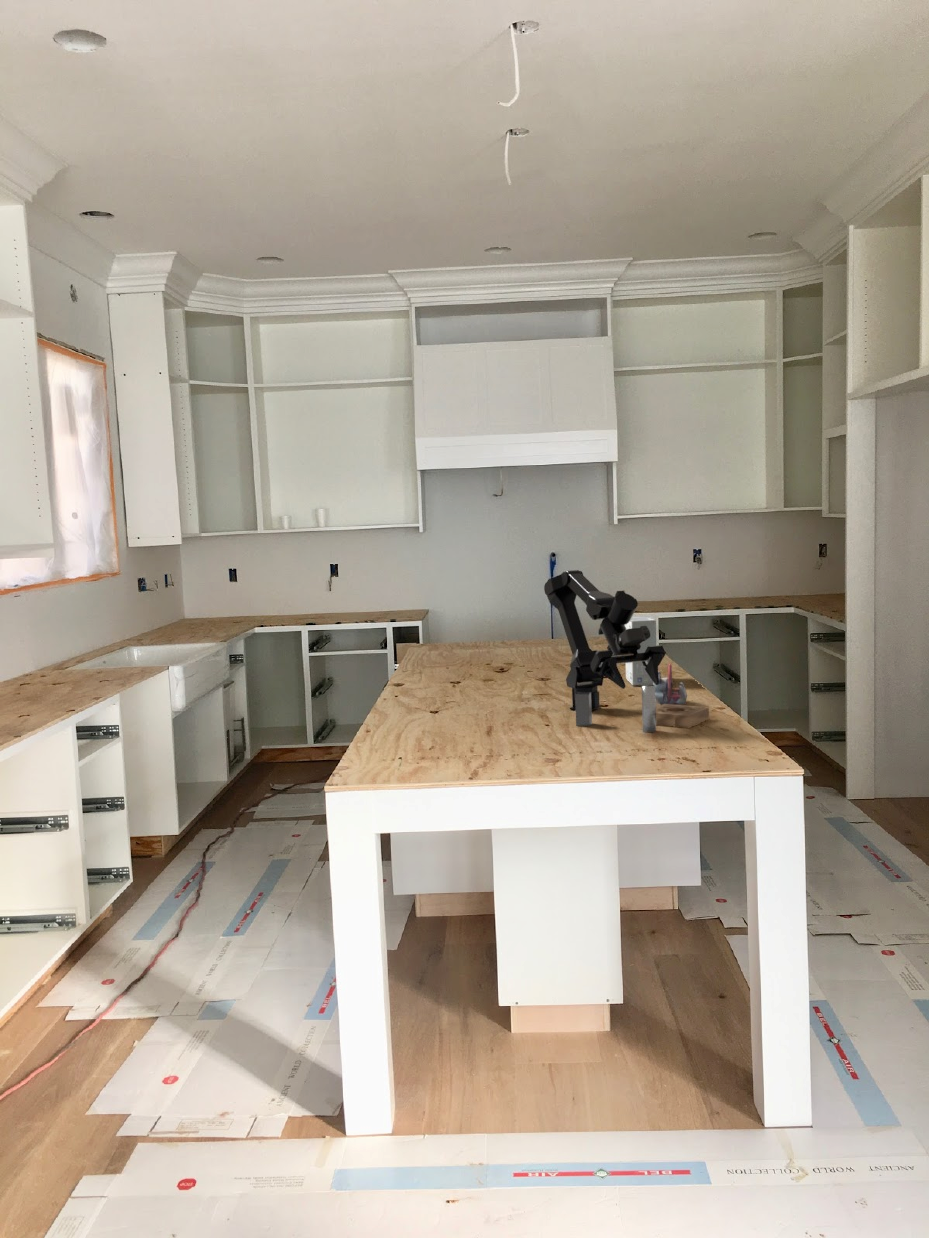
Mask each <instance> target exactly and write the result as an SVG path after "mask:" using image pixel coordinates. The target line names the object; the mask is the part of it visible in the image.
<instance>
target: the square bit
mask: <svg viewBox="0 0 929 1238" xmlns="http://www.w3.org/2000/svg"><path fill="white" fill-rule="evenodd" d="M575 704H576V710H575V726H576V727H591V725H592V724H593V717H592V715H593V710H592V707H591V692H577V693H576V694H575ZM591 723H592V724H591Z"/></svg>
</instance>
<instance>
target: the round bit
mask: <svg viewBox="0 0 929 1238" xmlns="http://www.w3.org/2000/svg"><path fill="white" fill-rule="evenodd" d="M656 702H657V701H656V699H655V685H641V708H642V709H641V711H642V713H641V715H642V733H646V732H653V733H656V732H657V725H656V707H657V706H656V705H657V704H656Z"/></svg>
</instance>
